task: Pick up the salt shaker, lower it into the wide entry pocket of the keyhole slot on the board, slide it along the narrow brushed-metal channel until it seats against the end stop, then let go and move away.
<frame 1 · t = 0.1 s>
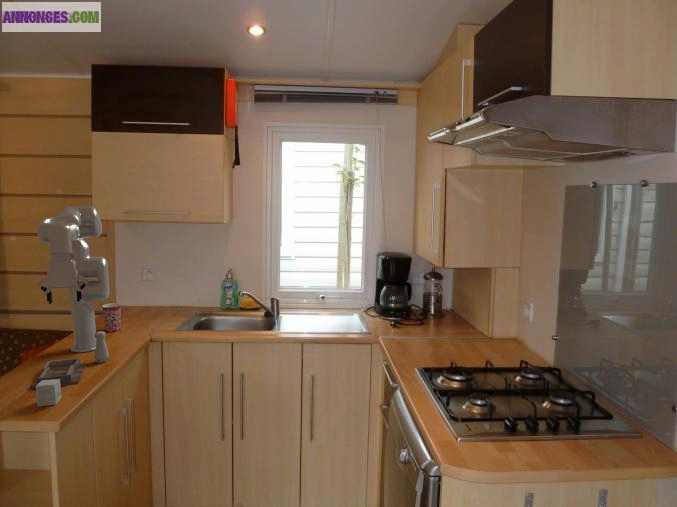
hand: (64, 302, 206), 31 cm above the worktop, tool pointing down, fingers open, 9 cm apart
product box: (49, 403, 189), on the worktop
salt shaker: (102, 362, 233), on the worktop
keyhole rails: (59, 370, 215), on the keyhole board, point 2 cm above the worktop
keyhole board: (60, 376, 215), on the worktop
mug: (114, 329, 285), on the worktop
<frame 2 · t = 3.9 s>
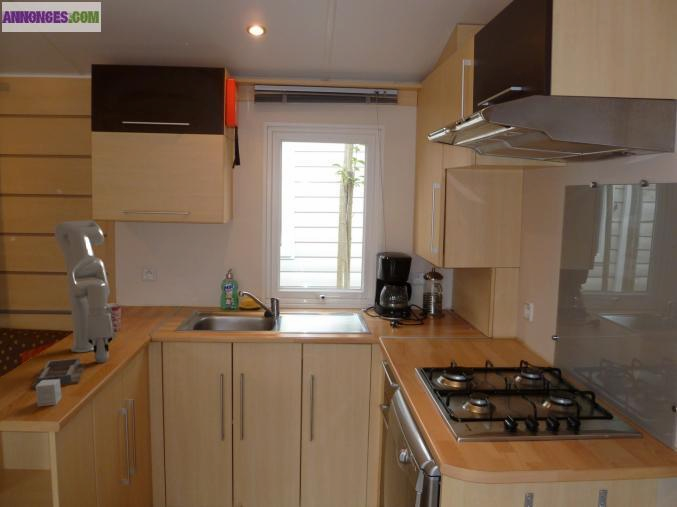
hand: (101, 353, 232), 4 cm above the worktop, tool pointing down, fingers closed on salt shaker, 3 cm apart
salt shaker: (102, 361, 233), on the worktop, touching gripper
everything else where it was.
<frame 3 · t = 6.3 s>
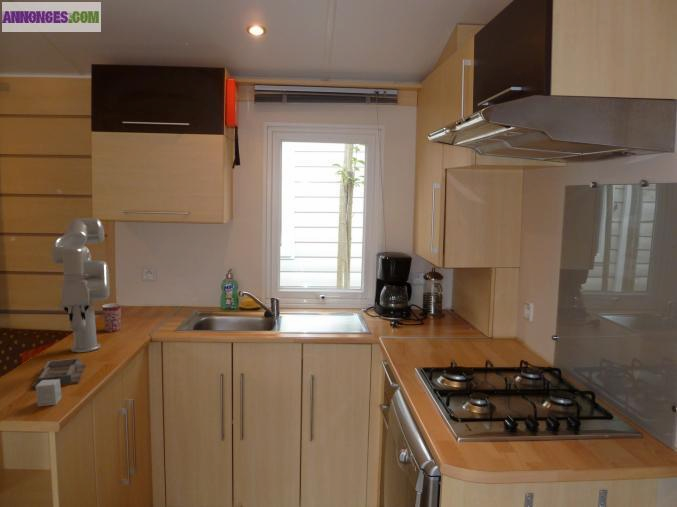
hand: (77, 321, 224), 19 cm above the worktop, tool pointing down, fingers closed on salt shaker, 3 cm apart
salt shaker: (78, 330, 224), point 15 cm above the worktop, touching gripper
everything else where it was.
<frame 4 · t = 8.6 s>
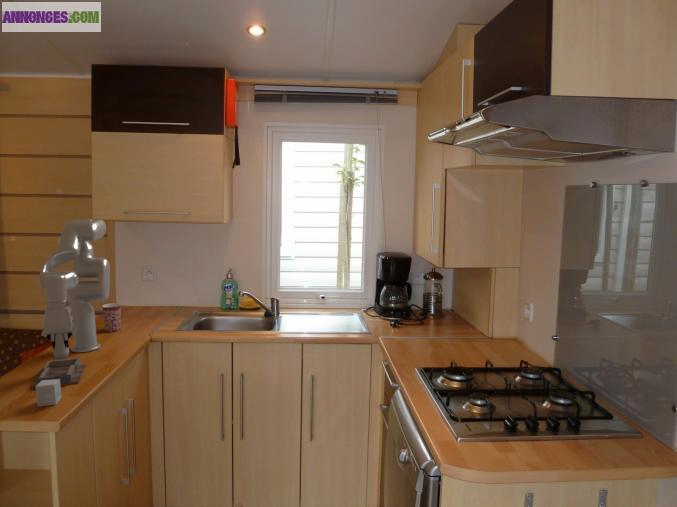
hand: (60, 349, 220), 9 cm above the worktop, tool pointing down, fingers closed on salt shaker, 3 cm apart
salt shaker: (61, 358, 220), point 5 cm above the worktop, touching gripper
everything else where it was.
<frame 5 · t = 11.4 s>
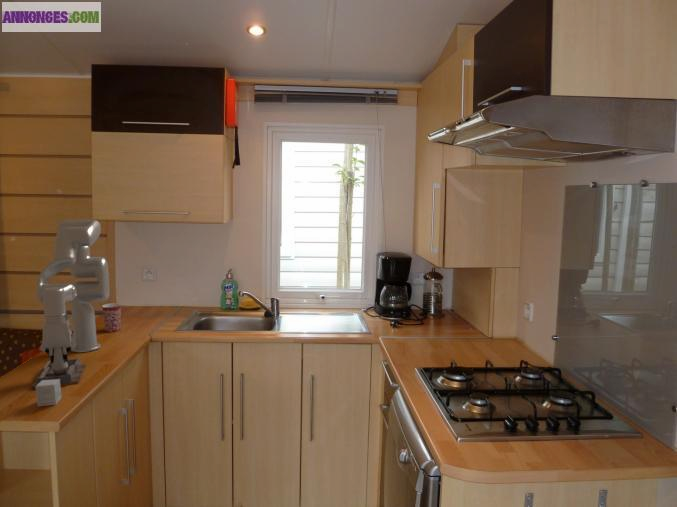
hand: (59, 363, 215), 5 cm above the worktop, tool pointing down, fingers closed on salt shaker, 3 cm apart
salt shaker: (60, 373, 216), point 1 cm above the worktop, touching gripper
everything else where it was.
when the fingers open (5 cm above the worktop, at t = 13.2 s): salt shaker stays where it is, resting on keyhole board.
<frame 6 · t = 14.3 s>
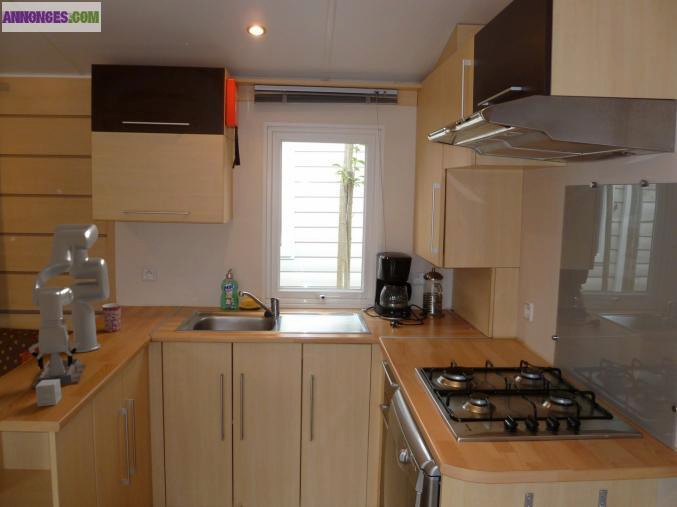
hand: (56, 366, 208), 6 cm above the worktop, tool pointing down, fingers open, 9 cm apart
salt shaker: (57, 379, 209), point 1 cm above the worktop, touching keyhole board
everything else where it was.
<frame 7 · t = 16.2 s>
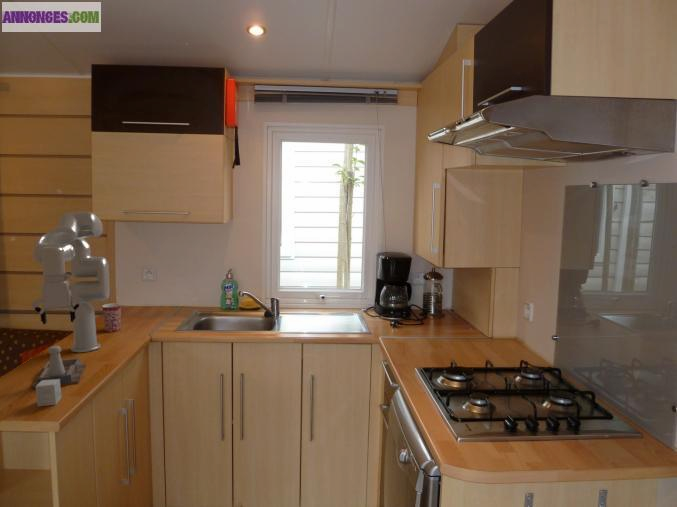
hand: (58, 322, 209), 23 cm above the worktop, tool pointing down, fingers open, 9 cm apart
nothing on the worktop moved.
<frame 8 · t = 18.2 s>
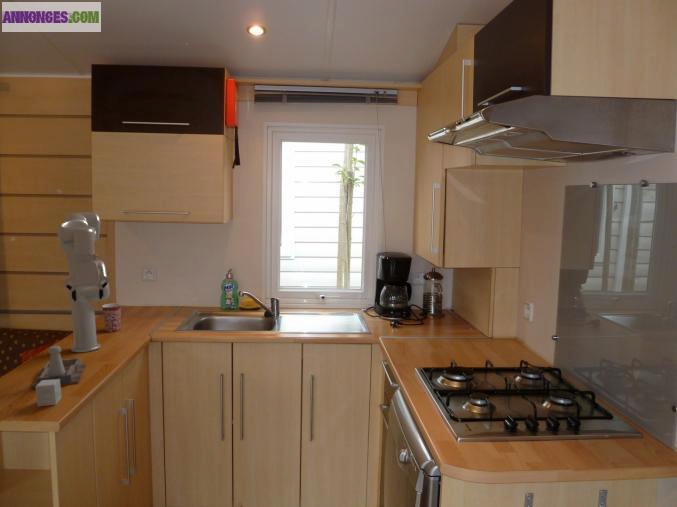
hand: (88, 299, 224), 28 cm above the worktop, tool pointing down, fingers open, 9 cm apart
nothing on the worktop moved.
at the end: salt shaker 0.1 cm from the target spot on the keyhole board, point 0.8 cm above the keyhole board's base; salt shaker tilted 0°; the gripper is holding nothing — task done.
